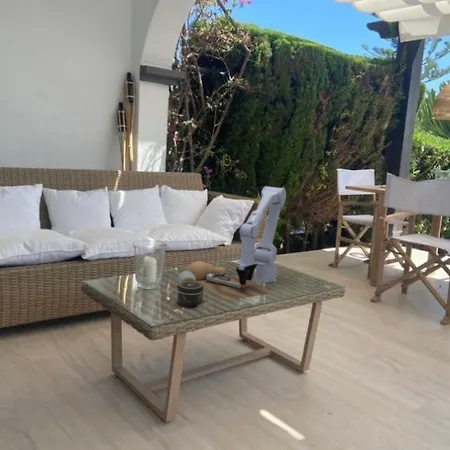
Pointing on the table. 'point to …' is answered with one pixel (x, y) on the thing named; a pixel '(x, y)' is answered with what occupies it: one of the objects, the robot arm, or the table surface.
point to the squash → (203, 269)
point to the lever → (224, 281)
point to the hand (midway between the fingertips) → (245, 282)
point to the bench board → (234, 288)
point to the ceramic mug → (186, 277)
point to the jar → (190, 294)
